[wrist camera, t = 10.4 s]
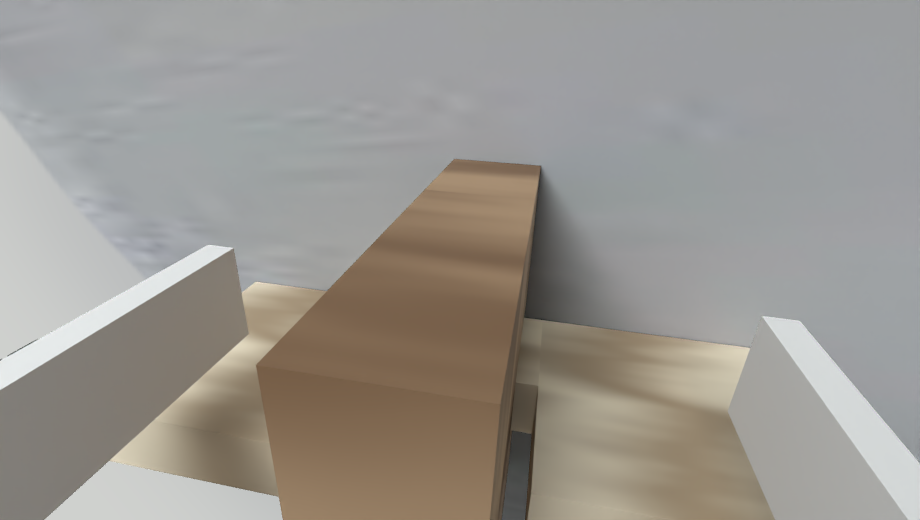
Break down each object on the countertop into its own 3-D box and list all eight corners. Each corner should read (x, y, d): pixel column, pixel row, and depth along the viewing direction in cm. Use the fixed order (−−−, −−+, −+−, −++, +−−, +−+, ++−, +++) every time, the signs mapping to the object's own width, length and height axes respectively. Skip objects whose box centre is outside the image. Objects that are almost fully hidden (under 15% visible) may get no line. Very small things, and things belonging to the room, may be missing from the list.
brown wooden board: (454, 159, 17) (255, 364, 6) (540, 166, 16) (500, 403, 5) (444, 454, 22) (337, 831, 12) (508, 465, 22) (457, 870, 11)
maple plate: (262, 321, 21) (109, 460, 14) (256, 281, 20) (90, 408, 13) (741, 392, 18) (860, 619, 11) (757, 348, 17) (898, 563, 10)
